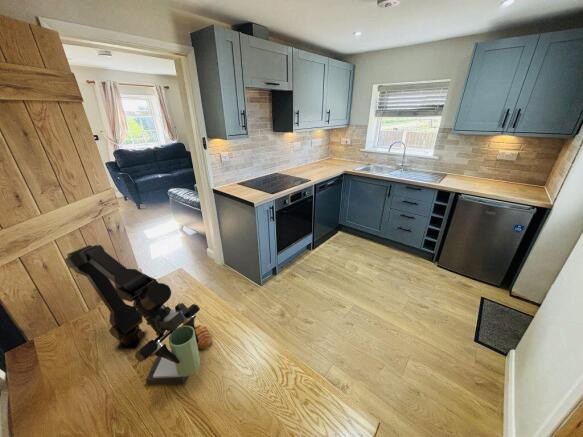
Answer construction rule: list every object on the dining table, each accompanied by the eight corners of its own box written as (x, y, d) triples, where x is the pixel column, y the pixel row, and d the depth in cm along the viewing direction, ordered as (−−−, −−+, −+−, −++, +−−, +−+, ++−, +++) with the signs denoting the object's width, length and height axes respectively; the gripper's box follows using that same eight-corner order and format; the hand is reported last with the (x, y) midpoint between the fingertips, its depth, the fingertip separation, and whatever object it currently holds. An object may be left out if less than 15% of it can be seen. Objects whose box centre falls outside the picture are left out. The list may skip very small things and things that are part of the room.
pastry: (216, 342, 87) (214, 335, 85) (198, 354, 83) (196, 347, 81) (204, 327, 93) (202, 320, 92) (187, 337, 89) (185, 330, 87)
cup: (172, 376, 69) (164, 346, 64) (181, 354, 76) (174, 325, 70) (196, 376, 70) (189, 346, 64) (203, 354, 76) (197, 325, 71)
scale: (147, 384, 74) (144, 378, 72) (162, 354, 83) (160, 348, 81) (183, 383, 74) (181, 377, 73) (194, 353, 83) (192, 347, 82)
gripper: (130, 329, 57) (171, 379, 57) (191, 283, 72) (223, 322, 72) (119, 339, 63) (156, 383, 63) (177, 294, 78) (207, 330, 79)
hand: (188, 352), depth 69 cm, fingers closed on cup, 7 cm apart
